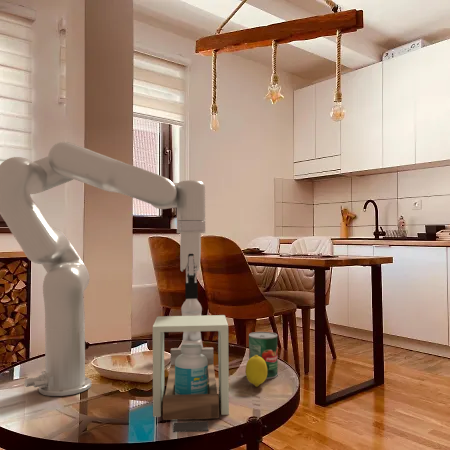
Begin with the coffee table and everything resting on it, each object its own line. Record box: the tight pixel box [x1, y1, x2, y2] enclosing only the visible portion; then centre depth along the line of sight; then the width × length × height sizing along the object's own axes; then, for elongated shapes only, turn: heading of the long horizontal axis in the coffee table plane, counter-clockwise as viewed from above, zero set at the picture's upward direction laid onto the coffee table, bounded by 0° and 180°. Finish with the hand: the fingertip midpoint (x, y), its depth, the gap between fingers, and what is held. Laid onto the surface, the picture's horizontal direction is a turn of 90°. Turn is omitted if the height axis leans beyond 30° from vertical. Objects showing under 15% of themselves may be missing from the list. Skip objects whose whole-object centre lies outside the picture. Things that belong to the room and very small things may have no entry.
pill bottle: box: [175, 344, 208, 395], centre depth 106 cm, size 8×7×14 cm
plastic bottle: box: [180, 298, 204, 348], centre depth 150 cm, size 6×7×20 cm
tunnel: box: [152, 314, 230, 418], centre depth 106 cm, size 12×16×19 cm
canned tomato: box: [248, 331, 279, 380], centre depth 128 cm, size 8×8×11 cm
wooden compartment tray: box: [162, 346, 220, 421], centre depth 113 cm, size 32×12×7 cm, turn 4°
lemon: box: [245, 355, 267, 388], centre depth 119 cm, size 6×6×8 cm
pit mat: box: [172, 420, 209, 433], centre depth 94 cm, size 4×7×1 cm, turn 94°
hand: (191, 297), depth 123 cm, fingers closed
